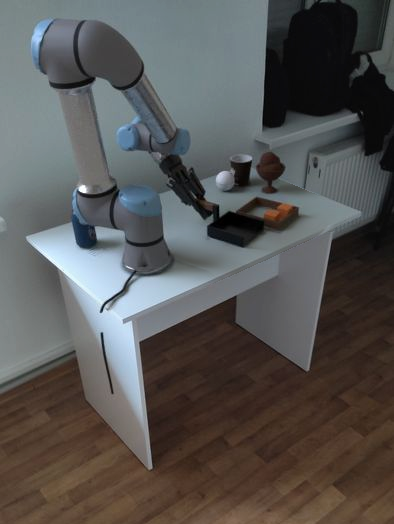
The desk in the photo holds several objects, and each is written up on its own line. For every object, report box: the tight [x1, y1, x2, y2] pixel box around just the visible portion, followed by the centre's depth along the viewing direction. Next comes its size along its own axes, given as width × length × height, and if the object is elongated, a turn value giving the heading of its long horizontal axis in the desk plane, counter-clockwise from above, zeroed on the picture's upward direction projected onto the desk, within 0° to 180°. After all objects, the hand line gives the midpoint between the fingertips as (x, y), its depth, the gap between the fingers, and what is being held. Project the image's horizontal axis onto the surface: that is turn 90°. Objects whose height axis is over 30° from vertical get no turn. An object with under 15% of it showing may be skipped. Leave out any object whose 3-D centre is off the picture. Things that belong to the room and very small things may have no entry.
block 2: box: [276, 202, 294, 220], centre depth 176 cm, size 4×4×4 cm
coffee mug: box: [229, 153, 253, 188], centre depth 200 cm, size 12×9×10 cm
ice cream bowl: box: [255, 151, 286, 194], centre depth 191 cm, size 11×11×15 cm
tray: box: [235, 196, 300, 232], centre depth 177 cm, size 17×14×4 cm
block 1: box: [263, 208, 281, 222], centre depth 172 cm, size 4×4×4 cm
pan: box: [180, 197, 265, 248], centre depth 169 cm, size 29×13×8 cm, turn 54°
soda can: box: [70, 209, 98, 250], centre depth 164 cm, size 7×7×12 cm
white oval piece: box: [215, 170, 235, 192], centre depth 195 cm, size 10×7×7 cm
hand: (209, 216), depth 171 cm, fingers closed on pan, 2 cm apart
